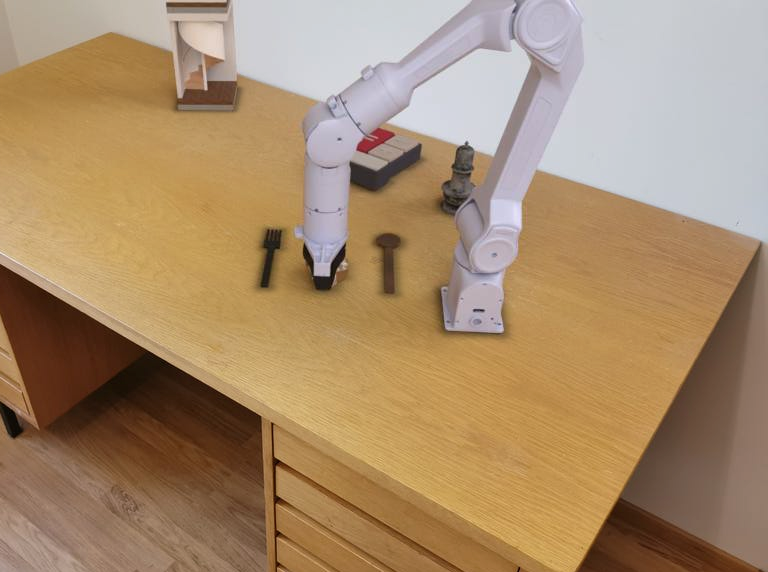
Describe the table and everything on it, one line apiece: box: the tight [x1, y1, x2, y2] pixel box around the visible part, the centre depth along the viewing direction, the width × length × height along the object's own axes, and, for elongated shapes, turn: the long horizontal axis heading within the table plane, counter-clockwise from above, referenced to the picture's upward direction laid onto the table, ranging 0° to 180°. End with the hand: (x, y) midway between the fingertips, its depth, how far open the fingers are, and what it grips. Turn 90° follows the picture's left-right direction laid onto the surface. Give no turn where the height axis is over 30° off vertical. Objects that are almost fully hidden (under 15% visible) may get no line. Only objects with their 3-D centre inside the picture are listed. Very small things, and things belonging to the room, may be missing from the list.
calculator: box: [349, 127, 423, 191], centre depth 135 cm, size 11×4×15 cm
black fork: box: [260, 228, 283, 289], centre depth 116 cm, size 15×3×1 cm, turn 175°
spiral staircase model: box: [165, 0, 239, 111], centre depth 146 cm, size 11×11×35 cm
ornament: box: [304, 257, 350, 292], centre depth 111 cm, size 8×7×4 cm
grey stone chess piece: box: [440, 140, 476, 216], centre depth 122 cm, size 6×6×12 cm
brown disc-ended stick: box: [377, 232, 401, 294], centre depth 115 cm, size 15×4×1 cm, turn 175°
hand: (323, 287), depth 103 cm, fingers closed
